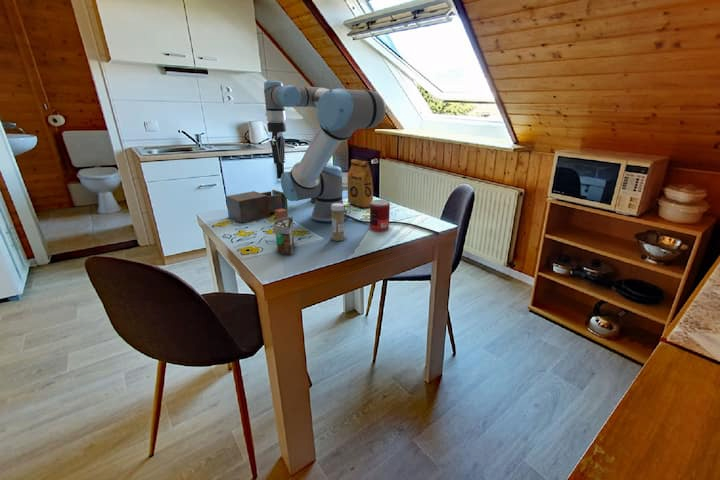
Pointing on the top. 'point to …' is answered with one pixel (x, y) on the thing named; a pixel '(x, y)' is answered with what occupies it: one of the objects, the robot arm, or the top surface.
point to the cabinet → (247, 206)
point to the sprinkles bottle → (337, 221)
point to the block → (280, 213)
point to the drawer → (276, 200)
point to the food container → (284, 235)
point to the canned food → (379, 215)
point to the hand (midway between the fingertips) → (280, 178)
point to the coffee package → (360, 184)
